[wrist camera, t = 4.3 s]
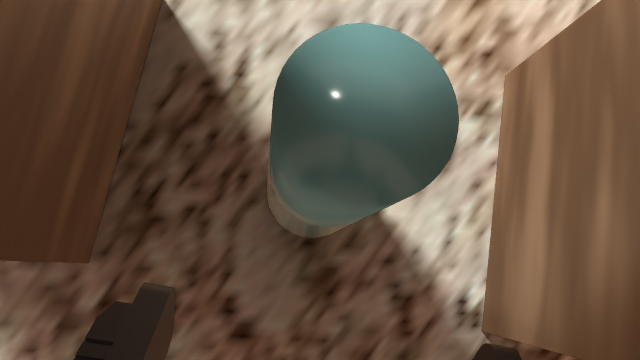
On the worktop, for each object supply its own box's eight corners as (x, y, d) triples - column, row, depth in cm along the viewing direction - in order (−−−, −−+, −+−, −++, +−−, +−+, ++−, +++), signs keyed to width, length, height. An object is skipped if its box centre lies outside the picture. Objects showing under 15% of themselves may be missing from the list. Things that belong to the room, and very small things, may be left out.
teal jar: (258, 228, 25) (254, 183, 11) (276, 141, 26) (292, 5, 13) (348, 245, 26) (447, 221, 12) (362, 158, 27) (467, 46, 13)
